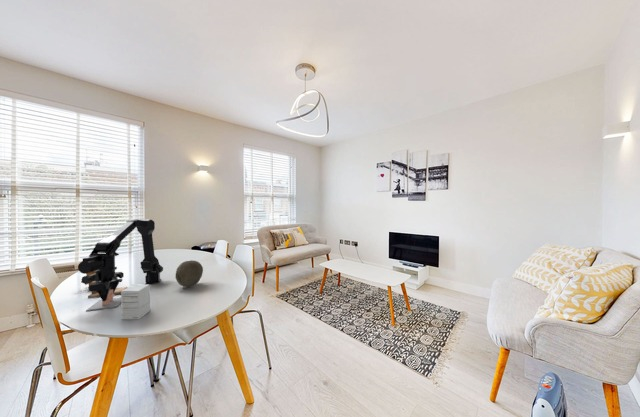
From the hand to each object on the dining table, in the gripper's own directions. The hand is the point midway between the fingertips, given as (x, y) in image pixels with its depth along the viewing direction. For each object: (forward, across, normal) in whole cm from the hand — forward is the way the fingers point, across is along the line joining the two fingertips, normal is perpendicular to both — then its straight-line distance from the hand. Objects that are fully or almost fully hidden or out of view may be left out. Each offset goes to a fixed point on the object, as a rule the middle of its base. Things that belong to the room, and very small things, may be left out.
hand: (107, 298), depth 108 cm
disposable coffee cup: (+3, -31, -18) cm, 36 cm away
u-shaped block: (+2, 0, 0) cm, 2 cm away
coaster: (+3, 0, 0) cm, 3 cm away
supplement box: (+3, +17, +17) cm, 24 cm away
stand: (+3, -16, -6) cm, 17 cm away
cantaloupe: (+3, -13, +33) cm, 36 cm away
